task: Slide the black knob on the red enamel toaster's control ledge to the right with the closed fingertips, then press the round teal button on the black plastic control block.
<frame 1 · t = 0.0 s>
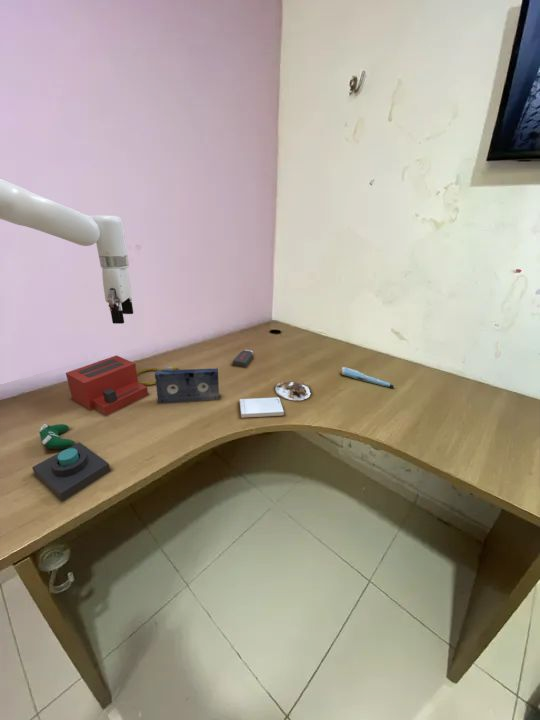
hand: (123, 318, 97), 22 cm above the table, tool pointing down, fingers open, 9 cm apart
button: (68, 457, 66), point 4 cm above the table, slide at 0.1 cm
control block: (73, 472, 68), on the table
green piece: (58, 442, 77), on the table
hard drive: (261, 409, 93), on the table
toaster: (107, 393, 98), on the table
usb drive: (244, 361, 124), on the table
vhs cassette tape: (189, 399, 97), on the table
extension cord: (155, 378, 108), on the table
plate of food: (294, 392, 103), on the table
toaster slider: (110, 395, 88), point 5 cm above the table, slide at 0.0 cm
light blue tapered rod: (365, 381, 113), on the table
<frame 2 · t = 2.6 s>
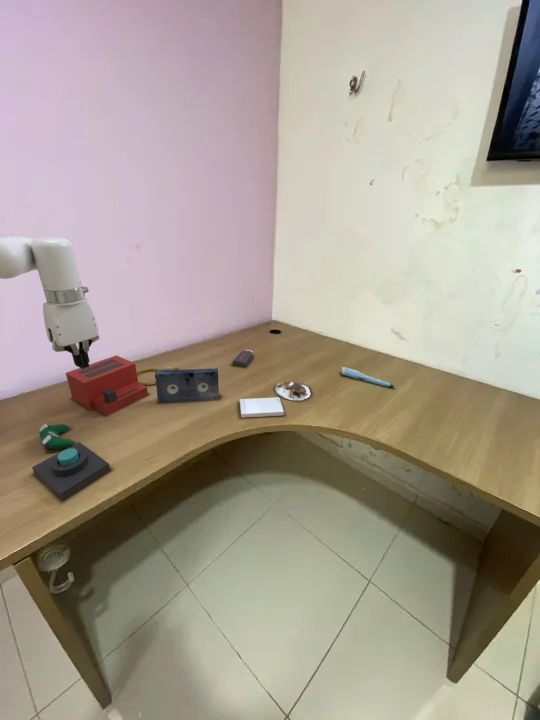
hand: (83, 366, 79), 16 cm above the table, tool pointing down, fingers closed
nothing on the table moved.
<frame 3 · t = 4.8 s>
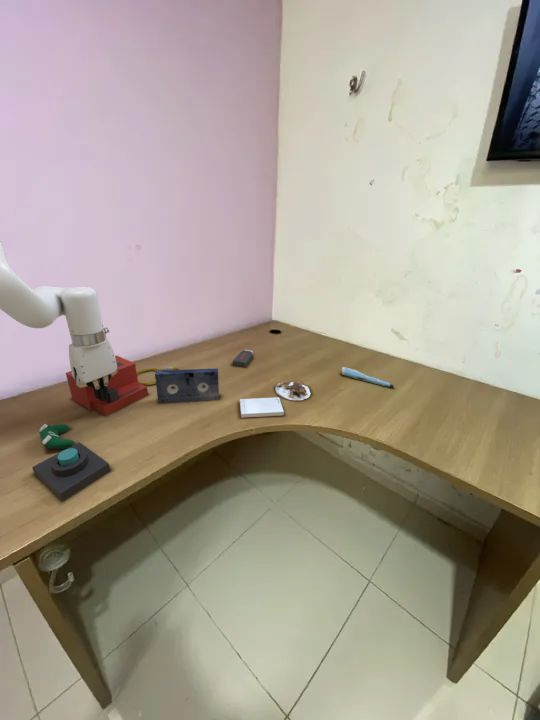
hand: (102, 398, 86), 5 cm above the table, tool pointing down, fingers closed
toaster slider: (112, 395, 88), point 5 cm above the table, slide at 0.6 cm, touching gripper
everything else where it was.
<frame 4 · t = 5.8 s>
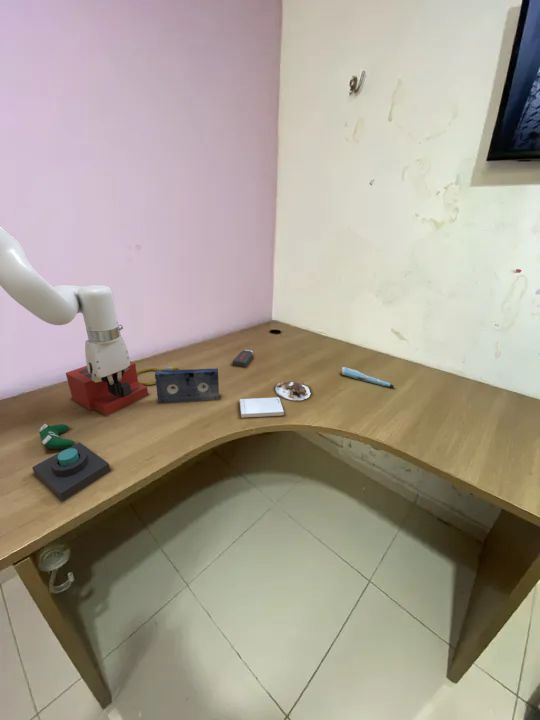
hand: (115, 393, 89), 5 cm above the table, tool pointing down, fingers closed
toaster slider: (124, 389, 92), point 5 cm above the table, slide at 4.6 cm, touching gripper
everything else where it was.
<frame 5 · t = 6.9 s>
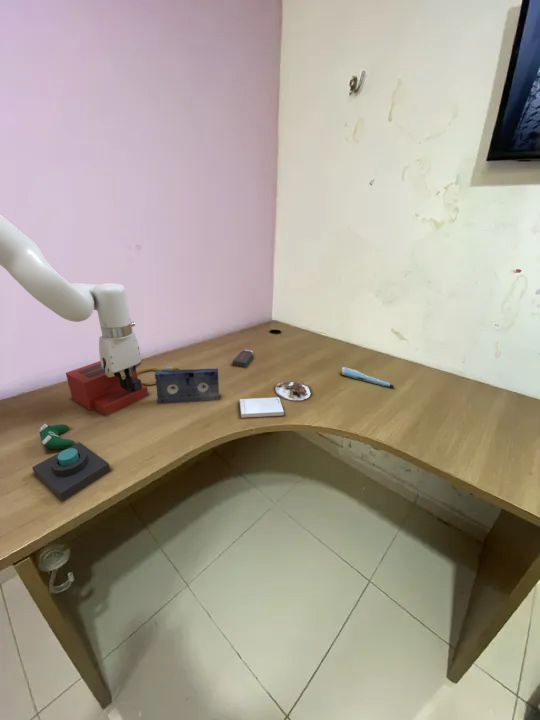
hand: (127, 388, 92), 5 cm above the table, tool pointing down, fingers closed
toaster slider: (135, 384, 94), point 5 cm above the table, slide at 8.2 cm, touching gripper
everything else where it was.
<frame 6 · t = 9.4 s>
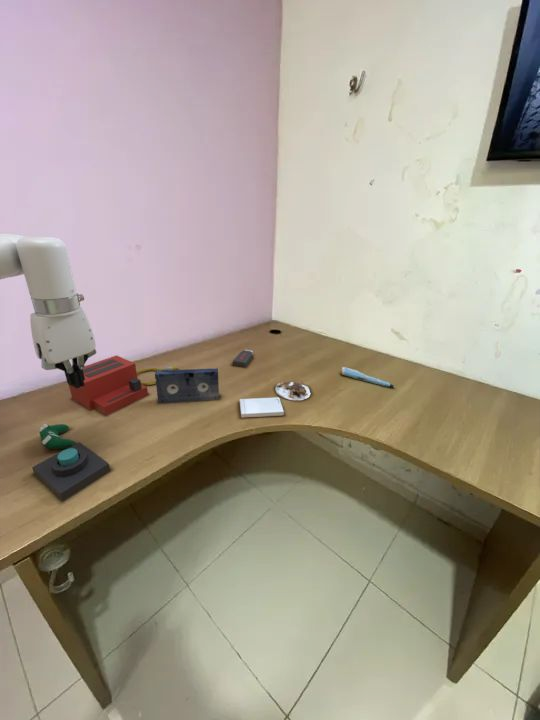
hand: (77, 385, 69), 17 cm above the table, tool pointing down, fingers closed
toaster slider: (135, 384, 94), point 5 cm above the table, slide at 8.1 cm
everything else where it was.
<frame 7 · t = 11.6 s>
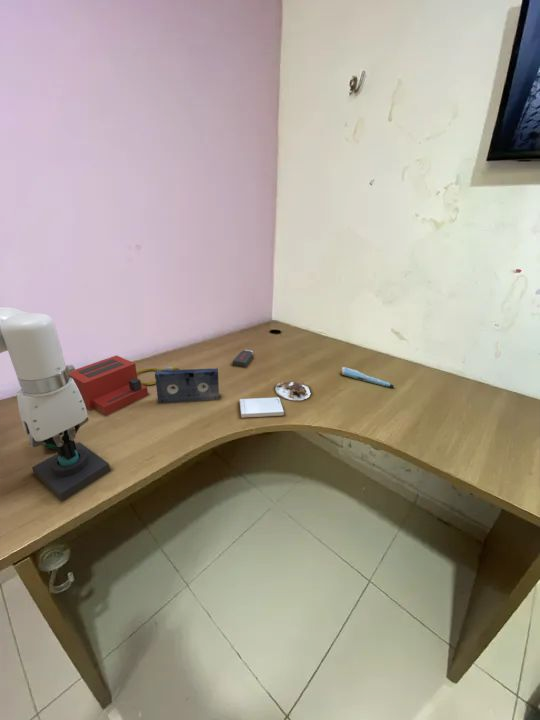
hand: (68, 455, 66), 5 cm above the table, tool pointing down, fingers closed
button: (68, 458, 66), point 4 cm above the table, slide at -0.3 cm, touching gripper
everything else where it was.
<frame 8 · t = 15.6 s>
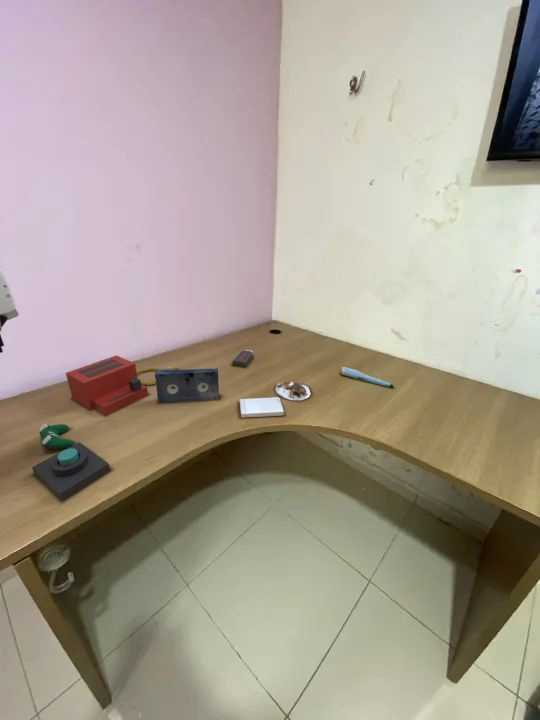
button: (68, 457, 66), point 4 cm above the table, slide at 0.1 cm
everything else where it was.
at the end: toaster slider slide at 8.1 cm; button pushed in 1.1 cm at the most during the clip, back to where it started at the end; button slide at 0.1 cm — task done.
